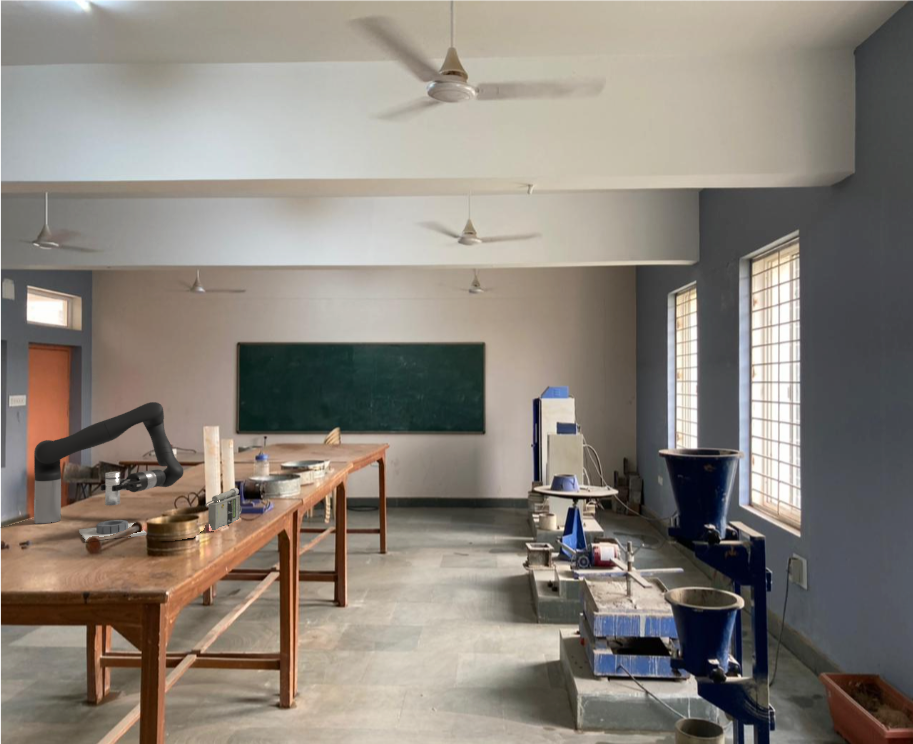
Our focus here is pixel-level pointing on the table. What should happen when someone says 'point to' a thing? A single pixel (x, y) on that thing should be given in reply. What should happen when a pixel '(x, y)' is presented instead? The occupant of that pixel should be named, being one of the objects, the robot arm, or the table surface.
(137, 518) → the table surface
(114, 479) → the piston
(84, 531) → the ring plate
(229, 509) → the geiger counter
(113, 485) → the robot arm
